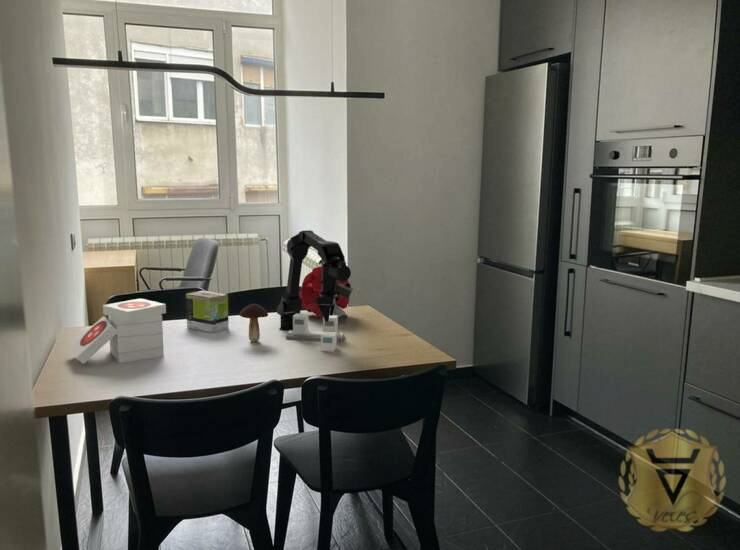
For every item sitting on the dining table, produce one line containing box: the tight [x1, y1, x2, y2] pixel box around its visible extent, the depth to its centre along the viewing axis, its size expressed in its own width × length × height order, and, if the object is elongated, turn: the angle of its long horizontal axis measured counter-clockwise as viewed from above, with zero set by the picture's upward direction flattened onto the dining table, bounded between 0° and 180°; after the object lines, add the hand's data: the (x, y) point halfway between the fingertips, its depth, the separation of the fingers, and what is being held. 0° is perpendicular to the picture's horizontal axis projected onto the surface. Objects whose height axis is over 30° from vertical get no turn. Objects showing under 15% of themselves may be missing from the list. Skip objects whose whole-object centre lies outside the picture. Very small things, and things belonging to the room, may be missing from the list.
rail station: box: [285, 312, 345, 343], centre depth 236 cm, size 22×8×9 cm, turn 83°
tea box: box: [185, 290, 229, 334], centre depth 247 cm, size 15×10×15 cm
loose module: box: [320, 331, 338, 352], centre depth 222 cm, size 5×5×6 cm
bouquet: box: [298, 265, 351, 324], centre depth 268 cm, size 22×24×30 cm
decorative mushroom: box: [238, 303, 269, 343], centre depth 228 cm, size 11×11×15 cm
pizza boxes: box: [69, 298, 167, 365], centre depth 207 cm, size 19×30×18 cm, turn 124°
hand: (329, 318), depth 221 cm, fingers open, 9 cm apart
